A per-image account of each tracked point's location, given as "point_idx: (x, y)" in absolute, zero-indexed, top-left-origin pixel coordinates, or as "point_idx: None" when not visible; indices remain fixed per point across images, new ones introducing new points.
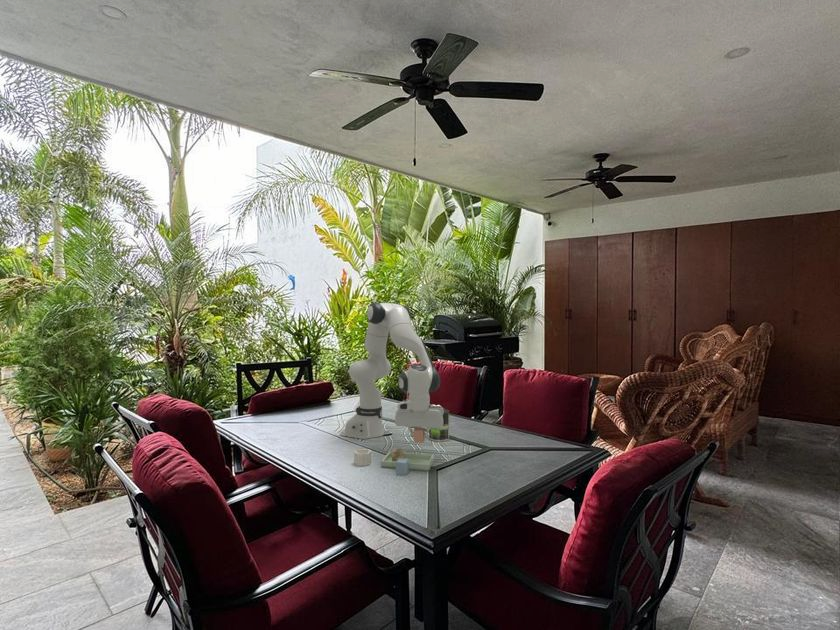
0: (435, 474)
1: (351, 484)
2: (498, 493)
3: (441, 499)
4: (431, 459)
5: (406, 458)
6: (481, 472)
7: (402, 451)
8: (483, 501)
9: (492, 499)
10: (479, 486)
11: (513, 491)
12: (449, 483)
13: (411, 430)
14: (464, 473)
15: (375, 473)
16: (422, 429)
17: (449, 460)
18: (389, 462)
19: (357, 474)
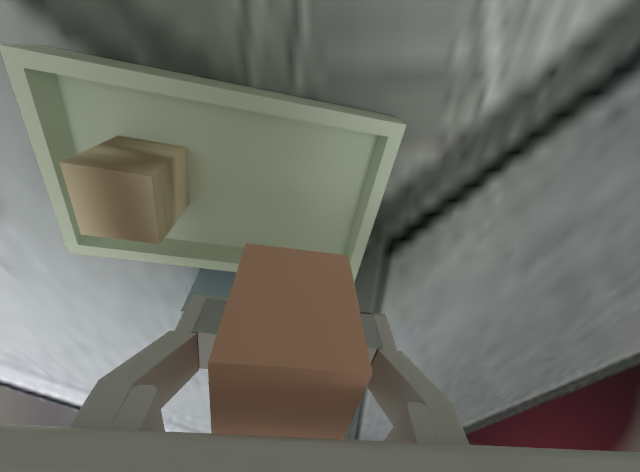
0: (374, 291)
1: (71, 372)
2: (535, 385)
3: (370, 414)
4: (374, 214)
5: (195, 102)
6: (583, 264)
7: (159, 204)
8: (472, 414)
9: (499, 407)
10: (504, 359)
11: (585, 375)
12: (413, 348)
13: (170, 380)
14: (503, 276)
15: (104, 295)
16: (333, 418)
17: (500, 101)
18: (126, 256)
19: (29, 307)
